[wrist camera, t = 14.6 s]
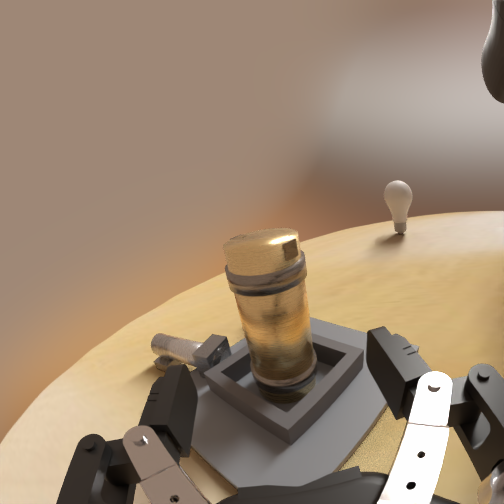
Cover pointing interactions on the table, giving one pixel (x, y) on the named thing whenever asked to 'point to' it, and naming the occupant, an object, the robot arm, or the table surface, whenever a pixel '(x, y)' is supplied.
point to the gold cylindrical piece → (274, 311)
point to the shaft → (190, 352)
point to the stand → (287, 414)
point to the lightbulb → (398, 203)
